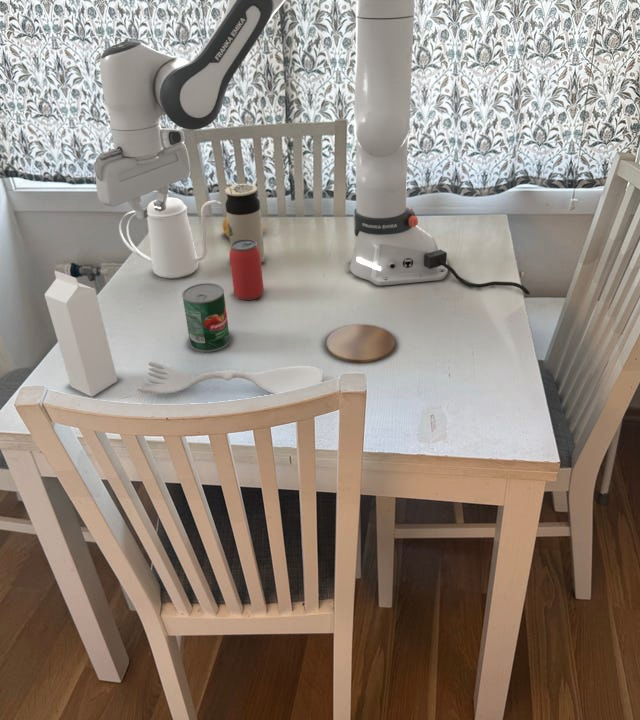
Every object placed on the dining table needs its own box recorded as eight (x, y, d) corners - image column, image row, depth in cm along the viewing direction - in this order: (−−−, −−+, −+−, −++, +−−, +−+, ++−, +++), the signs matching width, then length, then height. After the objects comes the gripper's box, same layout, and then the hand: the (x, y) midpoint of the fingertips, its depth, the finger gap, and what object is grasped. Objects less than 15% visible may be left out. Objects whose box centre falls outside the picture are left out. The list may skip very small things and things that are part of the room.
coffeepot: (224, 279, 157) (214, 201, 147) (121, 280, 160) (104, 203, 150) (233, 260, 166) (224, 185, 156) (135, 260, 169) (120, 187, 159)
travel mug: (265, 253, 169) (258, 182, 159) (264, 266, 162) (257, 193, 152) (233, 255, 169) (224, 184, 159) (231, 268, 162) (222, 195, 152)
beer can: (270, 293, 150) (265, 242, 144) (248, 304, 146) (242, 253, 140) (249, 285, 154) (244, 235, 147) (228, 295, 150) (221, 245, 144)
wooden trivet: (393, 327, 135) (393, 324, 134) (395, 362, 124) (395, 360, 124) (328, 327, 136) (328, 324, 136) (324, 362, 125) (324, 359, 125)
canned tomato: (195, 331, 137) (187, 282, 131) (233, 331, 137) (227, 282, 131) (185, 352, 131) (177, 301, 125) (225, 352, 130) (219, 301, 124)
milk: (97, 371, 127) (69, 263, 115) (118, 381, 124) (92, 271, 112) (70, 387, 123) (38, 276, 111) (91, 397, 120) (61, 285, 108)
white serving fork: (152, 374, 125) (148, 359, 123) (325, 373, 122) (324, 357, 120) (138, 404, 117) (135, 387, 115) (323, 402, 115) (322, 386, 113)
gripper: (103, 158, 114) (120, 235, 121) (190, 129, 127) (200, 200, 135) (80, 153, 117) (98, 228, 125) (167, 126, 131) (178, 195, 138)
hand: (151, 214), depth 130 cm, fingers open, 3 cm apart
